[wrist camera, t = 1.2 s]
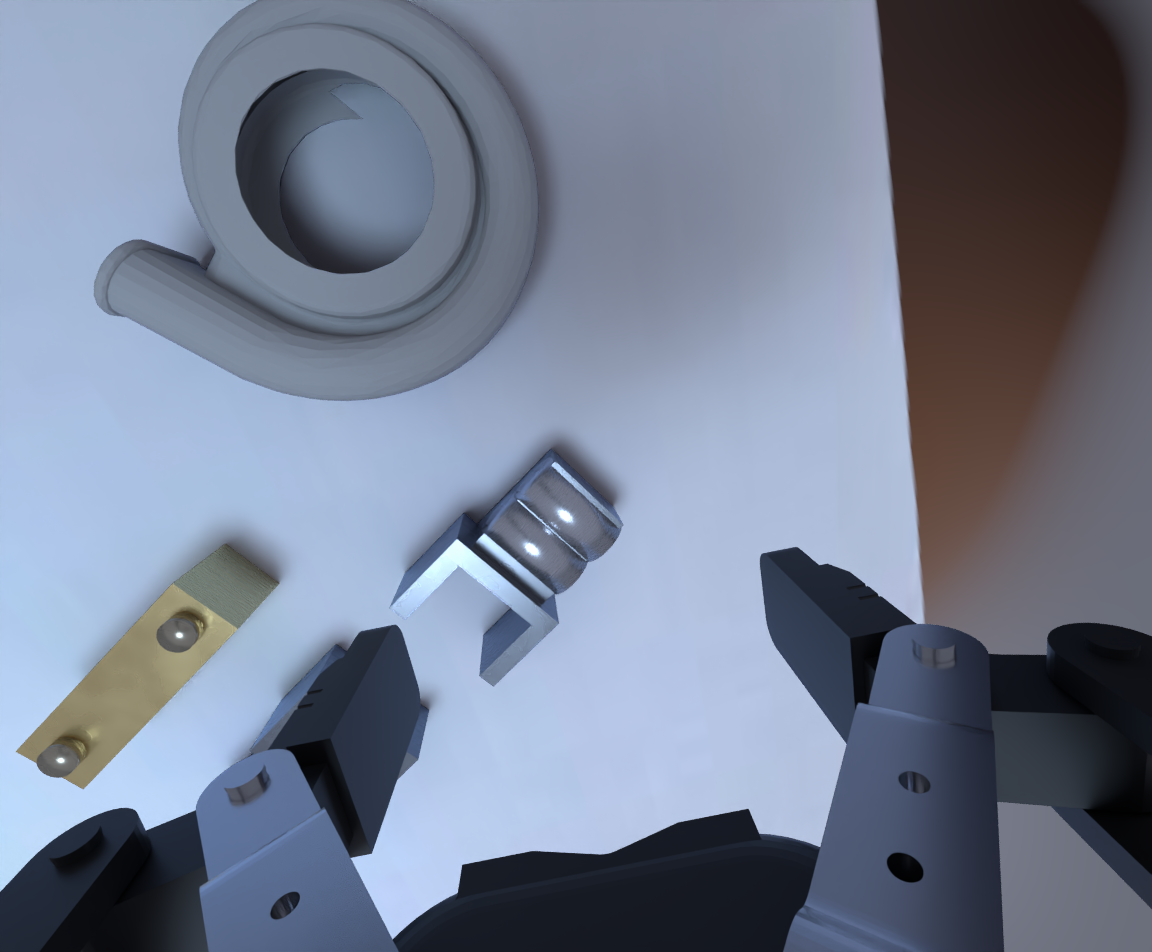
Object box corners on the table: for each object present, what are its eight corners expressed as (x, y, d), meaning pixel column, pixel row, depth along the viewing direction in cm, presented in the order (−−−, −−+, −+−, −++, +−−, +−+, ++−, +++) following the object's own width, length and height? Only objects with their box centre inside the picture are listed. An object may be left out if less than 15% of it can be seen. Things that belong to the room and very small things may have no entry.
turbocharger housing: (588, 178, 28) (311, -24, 25) (616, 126, 22) (249, -156, 19) (426, 458, 30) (145, 305, 27) (409, 484, 24) (37, 287, 20)
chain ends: (217, 766, 33) (178, 823, 29) (538, 436, 30) (541, 452, 26) (313, 823, 35) (288, 884, 31) (625, 518, 32) (640, 544, 28)
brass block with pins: (91, 686, 31) (0, 764, 26) (226, 542, 30) (161, 591, 24) (147, 720, 32) (70, 802, 27) (280, 581, 31) (229, 638, 25)
